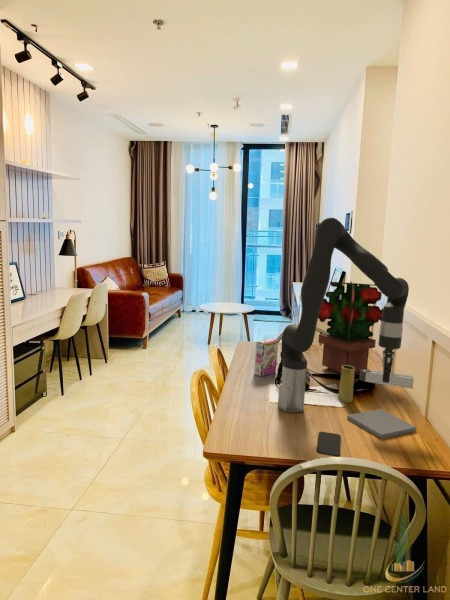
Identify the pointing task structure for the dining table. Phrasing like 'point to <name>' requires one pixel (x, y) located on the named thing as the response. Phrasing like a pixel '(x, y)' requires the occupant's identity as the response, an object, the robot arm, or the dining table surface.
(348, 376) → the vase
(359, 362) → the potted plant
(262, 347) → the candy bar box
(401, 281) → the robot arm
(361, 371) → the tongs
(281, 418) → the dining table surface
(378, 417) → the charcoal board
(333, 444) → the phone
